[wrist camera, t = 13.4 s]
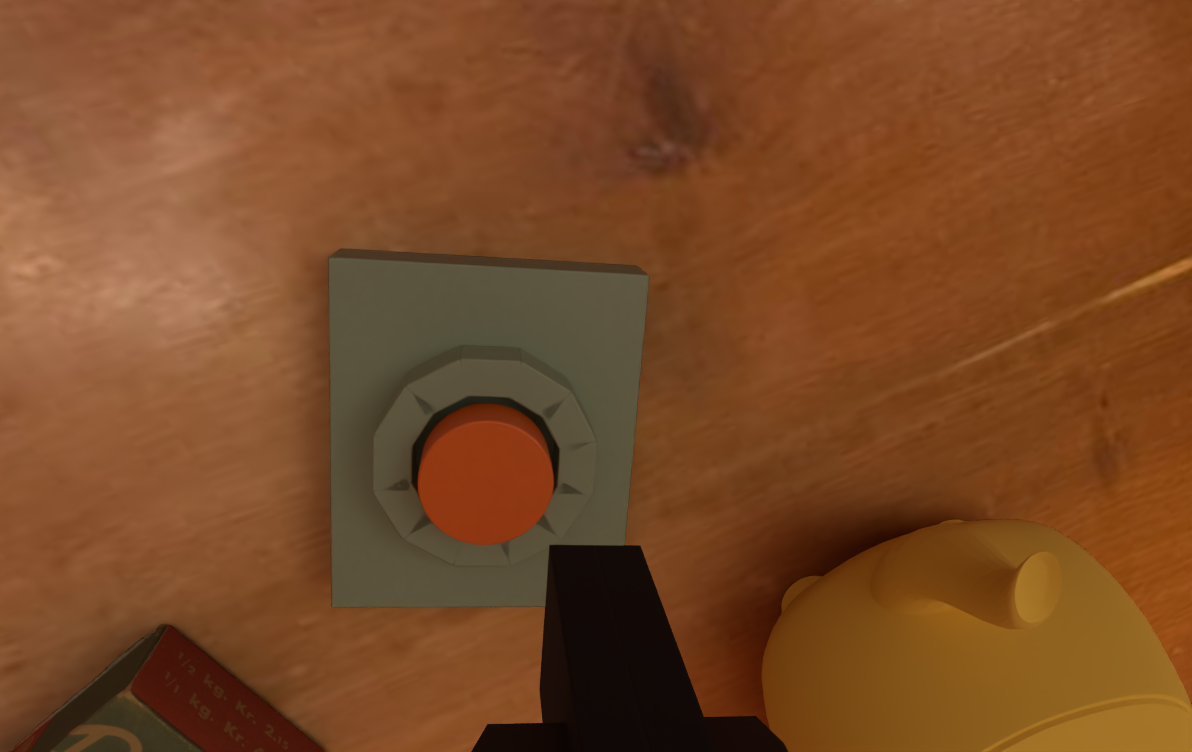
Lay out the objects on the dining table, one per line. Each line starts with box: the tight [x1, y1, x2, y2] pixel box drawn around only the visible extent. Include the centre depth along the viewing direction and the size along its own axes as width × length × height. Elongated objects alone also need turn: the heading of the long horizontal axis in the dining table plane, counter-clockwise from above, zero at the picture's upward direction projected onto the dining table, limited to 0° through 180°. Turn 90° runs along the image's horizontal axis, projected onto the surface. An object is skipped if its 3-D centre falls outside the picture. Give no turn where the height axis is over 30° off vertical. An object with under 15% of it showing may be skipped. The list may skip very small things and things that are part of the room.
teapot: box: [761, 519, 1192, 752], centre depth 28 cm, size 13×20×12 cm
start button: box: [417, 403, 554, 545], centre depth 25 cm, size 4×4×2 cm
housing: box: [328, 249, 649, 608], centre depth 28 cm, size 12×10×4 cm
